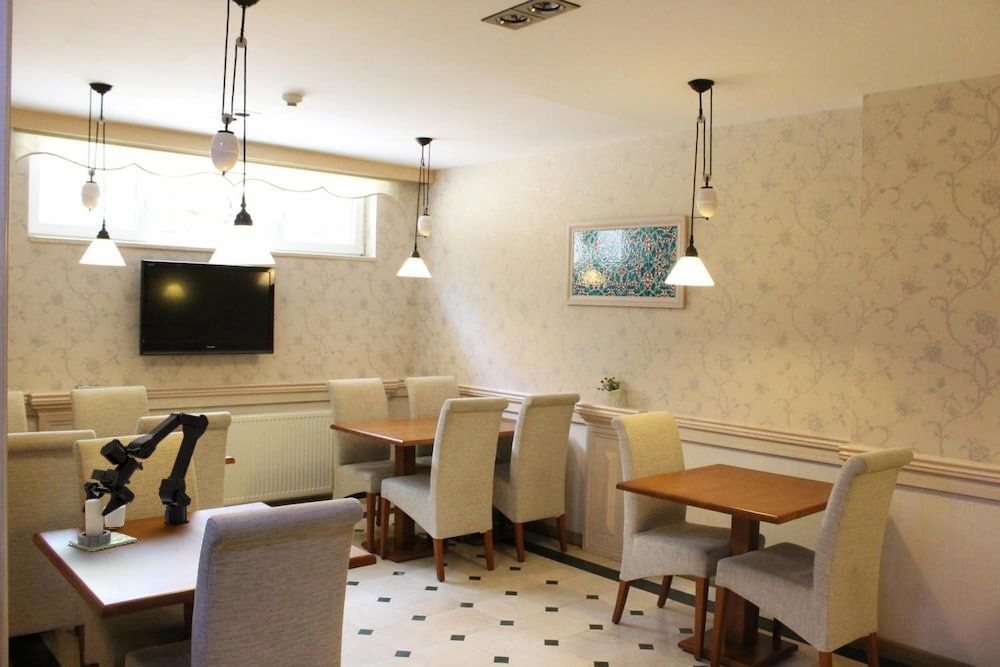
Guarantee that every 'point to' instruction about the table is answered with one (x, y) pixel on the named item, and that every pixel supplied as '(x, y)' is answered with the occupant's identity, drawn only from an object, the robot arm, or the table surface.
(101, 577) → the table surface
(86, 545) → the grey ring base plate
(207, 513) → the table surface
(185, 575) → the table surface
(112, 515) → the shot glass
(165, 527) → the table surface
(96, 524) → the post
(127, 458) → the robot arm
